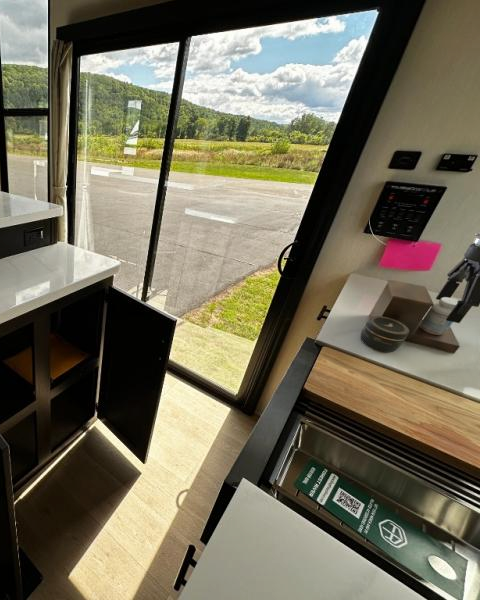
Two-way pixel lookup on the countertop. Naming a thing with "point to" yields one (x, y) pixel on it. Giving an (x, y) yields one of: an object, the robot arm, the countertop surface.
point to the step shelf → (412, 314)
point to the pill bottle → (438, 317)
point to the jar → (384, 333)
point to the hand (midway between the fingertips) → (446, 310)
